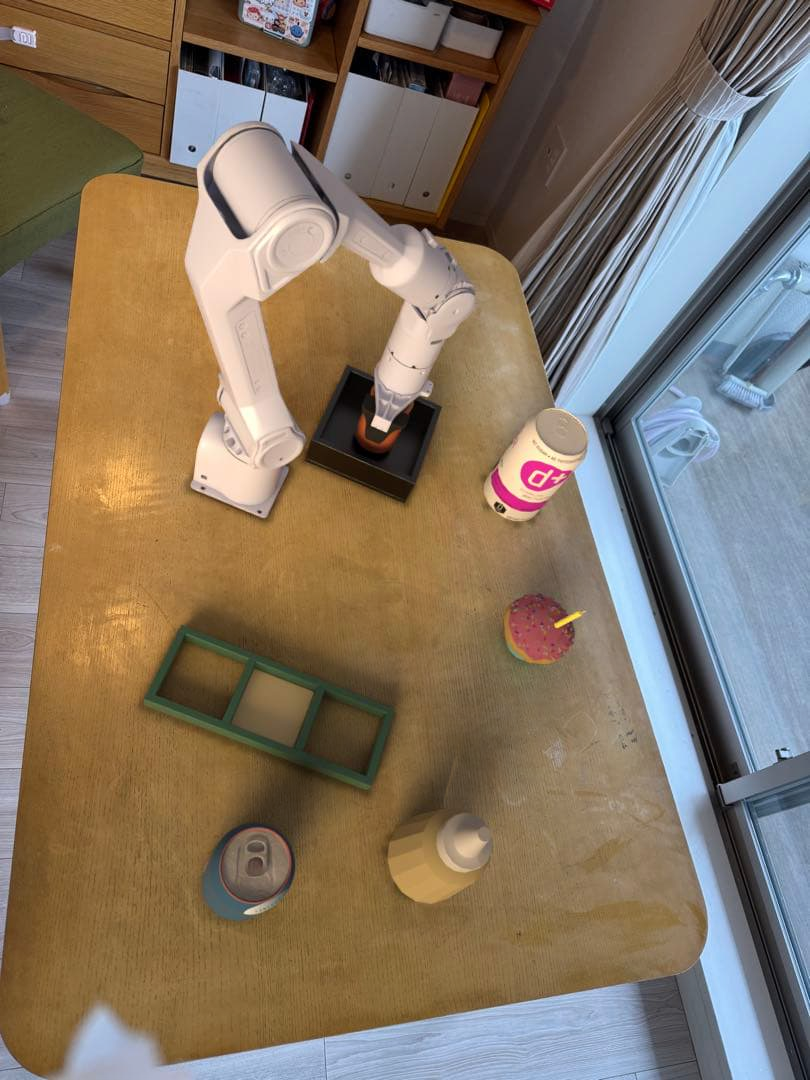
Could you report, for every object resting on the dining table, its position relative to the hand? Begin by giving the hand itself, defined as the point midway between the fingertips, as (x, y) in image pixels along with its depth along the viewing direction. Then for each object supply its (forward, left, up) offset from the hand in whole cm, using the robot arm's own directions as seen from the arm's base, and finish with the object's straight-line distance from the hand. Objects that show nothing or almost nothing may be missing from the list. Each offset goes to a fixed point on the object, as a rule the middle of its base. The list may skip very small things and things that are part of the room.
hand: (379, 422), depth 97 cm
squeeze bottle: (+20, -47, -5) cm, 51 cm away
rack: (+1, -38, -4) cm, 38 cm away
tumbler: (0, 0, -3) cm, 3 cm away
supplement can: (+20, +1, -5) cm, 21 cm away
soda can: (+4, -54, -5) cm, 54 cm away
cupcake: (+26, -19, -5) cm, 33 cm away
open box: (0, 0, -4) cm, 4 cm away
